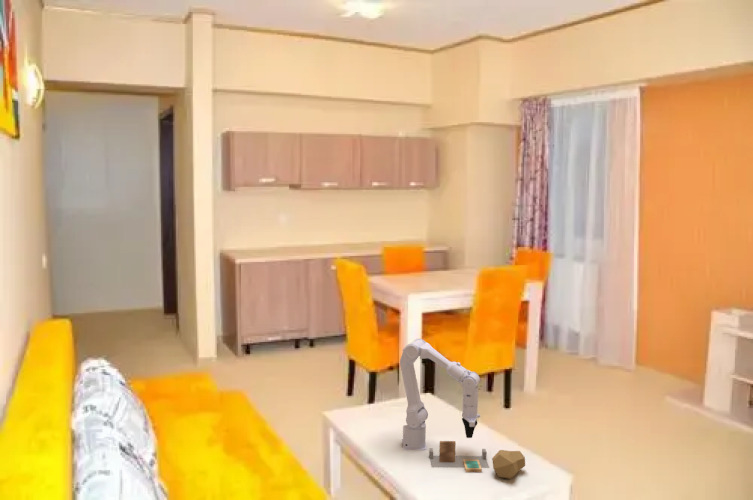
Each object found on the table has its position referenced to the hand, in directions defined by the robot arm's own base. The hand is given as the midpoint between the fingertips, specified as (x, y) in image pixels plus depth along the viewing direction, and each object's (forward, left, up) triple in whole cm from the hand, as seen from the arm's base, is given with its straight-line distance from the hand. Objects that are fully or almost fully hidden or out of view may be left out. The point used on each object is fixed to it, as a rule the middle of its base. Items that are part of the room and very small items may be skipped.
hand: (469, 437), depth 255 cm
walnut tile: (-9, -5, -8) cm, 13 cm away
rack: (-4, -5, -8) cm, 11 cm away
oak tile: (0, -6, -7) cm, 9 cm away
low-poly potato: (+13, -15, -9) cm, 22 cm away
